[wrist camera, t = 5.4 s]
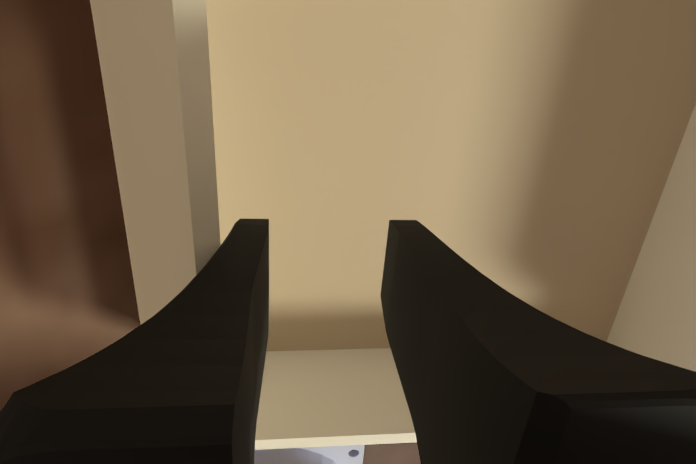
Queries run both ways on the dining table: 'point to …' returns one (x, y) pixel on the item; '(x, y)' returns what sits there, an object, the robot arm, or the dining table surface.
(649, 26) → the carton
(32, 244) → the dining table surface
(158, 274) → the cream flap
